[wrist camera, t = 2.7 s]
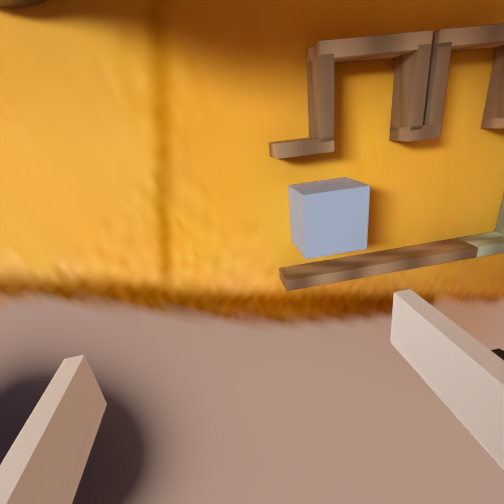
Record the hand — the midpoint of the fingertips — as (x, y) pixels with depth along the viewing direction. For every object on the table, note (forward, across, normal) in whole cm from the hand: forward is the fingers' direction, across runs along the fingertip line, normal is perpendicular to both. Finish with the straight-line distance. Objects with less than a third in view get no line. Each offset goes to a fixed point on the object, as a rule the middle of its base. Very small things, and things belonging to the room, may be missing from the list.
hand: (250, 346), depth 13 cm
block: (+19, +10, 0) cm, 22 cm away
